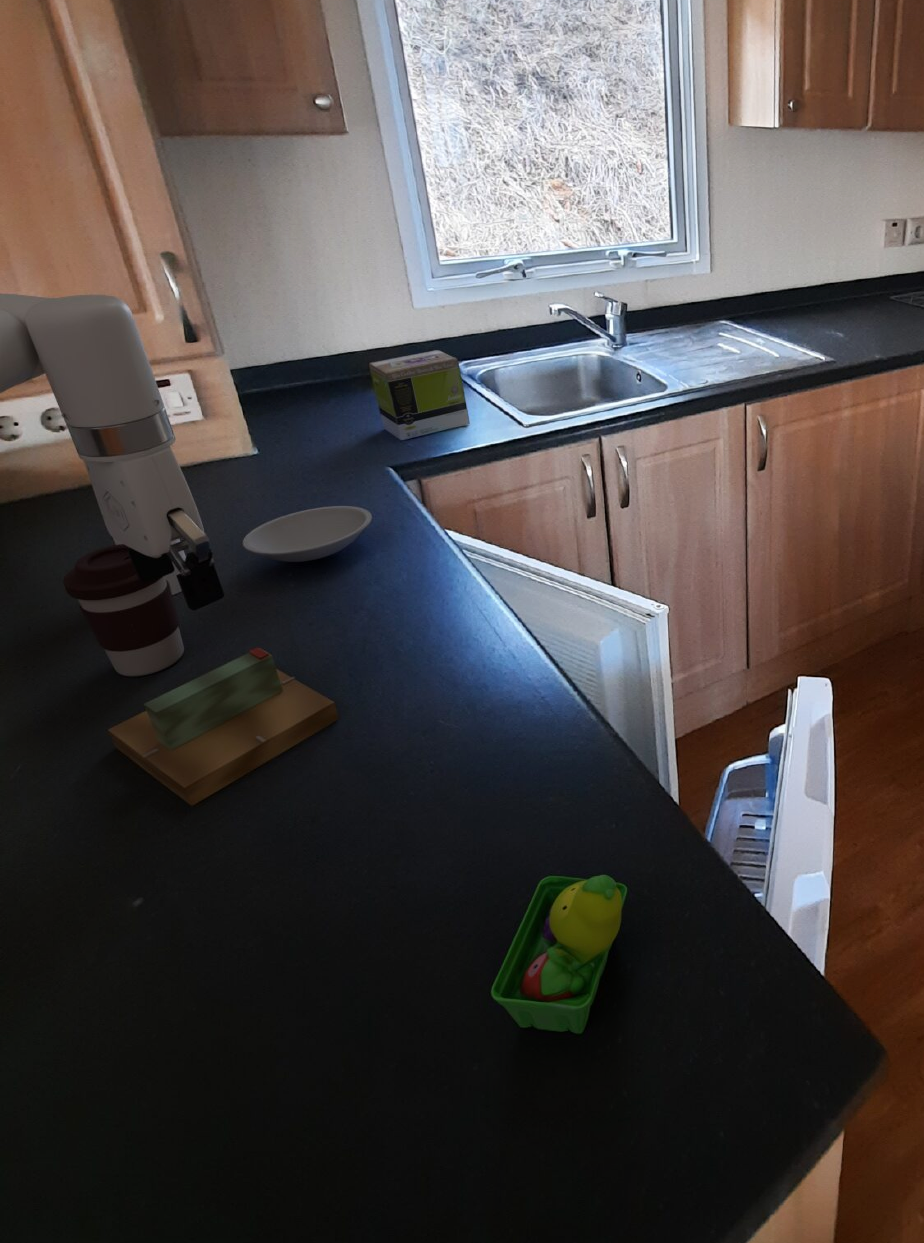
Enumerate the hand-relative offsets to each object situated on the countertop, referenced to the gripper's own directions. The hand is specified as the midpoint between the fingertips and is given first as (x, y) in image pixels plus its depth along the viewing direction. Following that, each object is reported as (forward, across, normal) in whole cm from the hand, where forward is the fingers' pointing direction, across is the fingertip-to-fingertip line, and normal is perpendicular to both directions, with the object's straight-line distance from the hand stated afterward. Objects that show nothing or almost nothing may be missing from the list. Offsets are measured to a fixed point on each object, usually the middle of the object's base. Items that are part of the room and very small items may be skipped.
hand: (182, 590), depth 88 cm
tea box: (+19, -64, +75) cm, 100 cm away
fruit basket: (+19, +54, -1) cm, 57 cm away
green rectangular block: (+16, 0, 0) cm, 16 cm away
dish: (+19, -30, +29) cm, 46 cm away
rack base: (+19, 0, 0) cm, 19 cm away
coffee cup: (+19, -22, +2) cm, 29 cm away
